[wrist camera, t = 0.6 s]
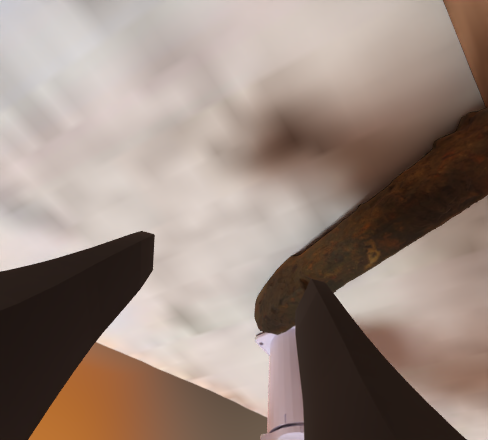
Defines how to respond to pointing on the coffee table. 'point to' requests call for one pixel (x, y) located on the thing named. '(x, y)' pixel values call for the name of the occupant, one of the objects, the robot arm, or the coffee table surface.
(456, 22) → the light brown wooden board
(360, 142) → the coffee table surface
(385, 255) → the hand tool
